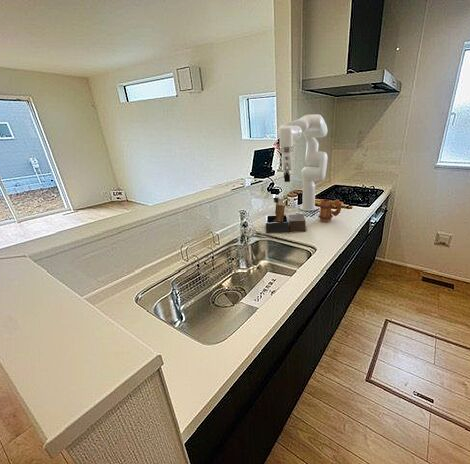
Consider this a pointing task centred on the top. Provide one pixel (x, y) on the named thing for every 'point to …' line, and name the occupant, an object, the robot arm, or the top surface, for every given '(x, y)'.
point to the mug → (329, 209)
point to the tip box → (279, 208)
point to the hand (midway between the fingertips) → (286, 179)
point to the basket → (277, 225)
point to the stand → (296, 223)
